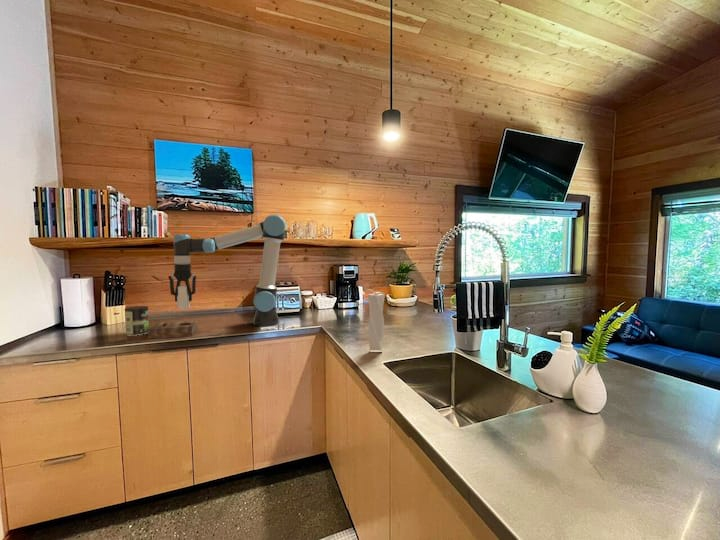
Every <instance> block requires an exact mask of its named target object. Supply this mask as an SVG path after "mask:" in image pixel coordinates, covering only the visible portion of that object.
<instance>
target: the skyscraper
mask: <svg viewBox="0 0 720 540" xmlns="http://www.w3.org/2000/svg"><path fill="white" fill-rule="evenodd" d="M366 291H367V295H368V297H367V299H368V305H369V306H368V308H369V315H368V343H369V344H368V345H369V351H370V350H381V349H382V350H383V345H384V339H385V338H384V337H385V318H384V313H383V311H384V304H385V298H386V293H385V292H382V291H375V290H374V289H372V288H367V289H366ZM369 291H372V292H373V293H369Z"/></svg>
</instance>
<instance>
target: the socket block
mask: <svg viewBox="0 0 720 540" xmlns="http://www.w3.org/2000/svg"><path fill="white" fill-rule="evenodd" d="M198 323H199V322H198V320H190V321H186V320H185V321H171V322H168V321H167V322H166V321H165V322H157V323H155V324H153V325H152V326H151V327H149V329H148V333H147V338H148V340H151V339H150V338H156V339H165V338H164V337H171V338H183V337H184V336H185V337H193V336H194V335H195V333H196V332H197V331H198V329H199V328H198V327H199V325H198Z"/></svg>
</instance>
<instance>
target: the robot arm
mask: <svg viewBox="0 0 720 540" xmlns="http://www.w3.org/2000/svg"><path fill="white" fill-rule="evenodd" d="M286 227H287V223H286V221H285V219H284V218H283V217H282V216H280V215H278V214H271V215H268V216H266V217H265V219H264V221H261V222H258V224H257V225H253V226H250V227H249V226H248V227H246V228H241V229H239V230H236V231H232V232H227V233H224V234H220V235H217V236H213V237H210V238H191V236H190V234H175V235H173V254H174V255H173V259H174V260H173V263H174V266H173V267H174V273H173V274H171V275H168V276H167V279H168V280H169V285H170V286H169V287H170V288H169V289H170V295H172V296H174V301H175V302H176V305H177V306H176V307H177V309H179V305H178V287H179V286H181V284H182V282H184V283H185V286H187V291H188V295H187V308H188V309H189V308H190V307H191V302H192V300H193V299H192V298H193V295H195V294H196V288H197V287H196V285H197V282H196V281H197V279H198V275H194V274H193V272H192V270H191V268H192V267H191V253H193V254H194V253H199V254H200V253H204V254H211V253H212V254H213V253H215V251H218V250H223V249H225V248H228V247H233V246H236V245H240V244H243V243H246V242H251V241H253V240H254V241H255V240H257V239H261V238H262V239H263V240H264V243H263V244H264V245H263V252H262V259H261V266H260V267H261V268H260V275H259V282H258V284H256V286H255V291H254V297H253V301H252V302H253V305H254V306H253V307H255V314H254V317H253V321H252V325H253V326H256V325H257V326H258V327H268V326H267V325H271V326H274V324H275V325H277V323H278V324H279V323H280V319H279V316H278V313H277V307H276V306H277V304H276V303H277V301H276V300H277V292H278V287H277V286H276V279H277V271H278V265H279V264H278V263H279V255H280V248H281V244H282V242H284V239H285V232H286ZM175 279H176V286H175V282H174V281H175ZM189 279H192V281H191V282H192V285H190V280H189Z"/></svg>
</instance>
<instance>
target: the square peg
mask: <svg viewBox="0 0 720 540" xmlns="http://www.w3.org/2000/svg"><path fill="white" fill-rule="evenodd" d="M187 295H188V291H187V286H186V285H180V286H179V287H178V305H179V308H178V310H187V309H189V308H187Z"/></svg>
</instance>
